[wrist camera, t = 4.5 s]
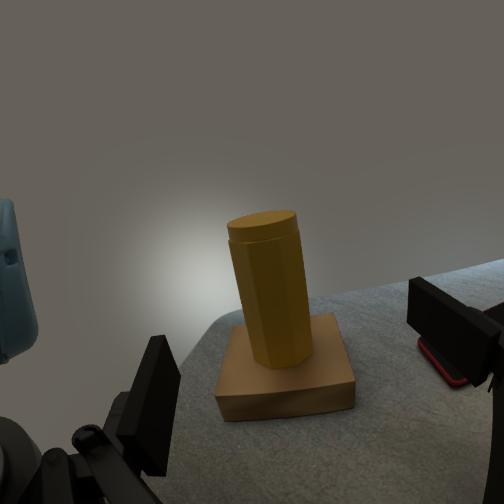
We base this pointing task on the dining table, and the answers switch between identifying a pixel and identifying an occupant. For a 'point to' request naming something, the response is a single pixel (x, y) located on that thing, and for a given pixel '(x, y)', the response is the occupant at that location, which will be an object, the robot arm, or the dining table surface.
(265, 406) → the stand
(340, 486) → the dining table surface
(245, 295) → the jar
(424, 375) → the dining table surface
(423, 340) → the smartphone
